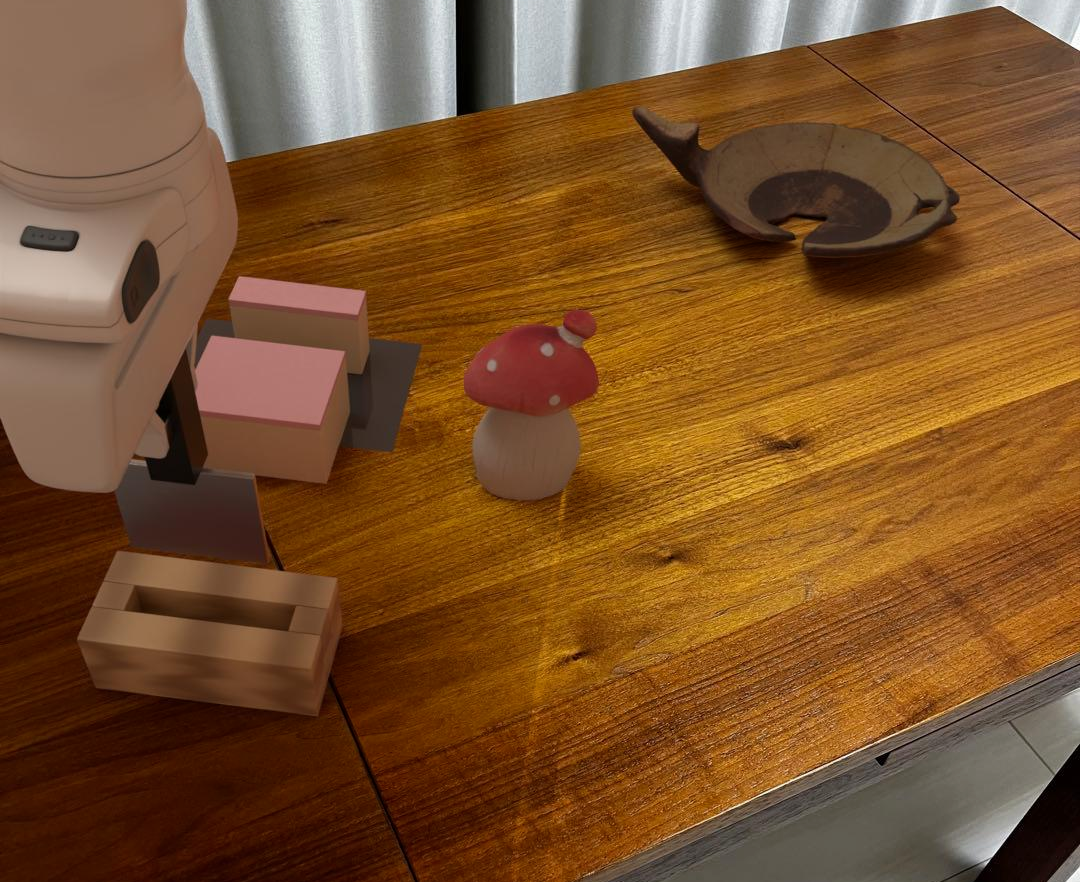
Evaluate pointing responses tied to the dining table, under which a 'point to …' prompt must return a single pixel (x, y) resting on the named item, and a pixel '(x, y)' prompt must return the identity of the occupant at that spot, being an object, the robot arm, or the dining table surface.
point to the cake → (272, 407)
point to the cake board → (360, 388)
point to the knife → (190, 491)
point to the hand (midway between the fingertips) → (166, 422)
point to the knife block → (213, 633)
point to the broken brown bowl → (812, 183)
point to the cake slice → (302, 317)
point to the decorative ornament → (531, 406)
